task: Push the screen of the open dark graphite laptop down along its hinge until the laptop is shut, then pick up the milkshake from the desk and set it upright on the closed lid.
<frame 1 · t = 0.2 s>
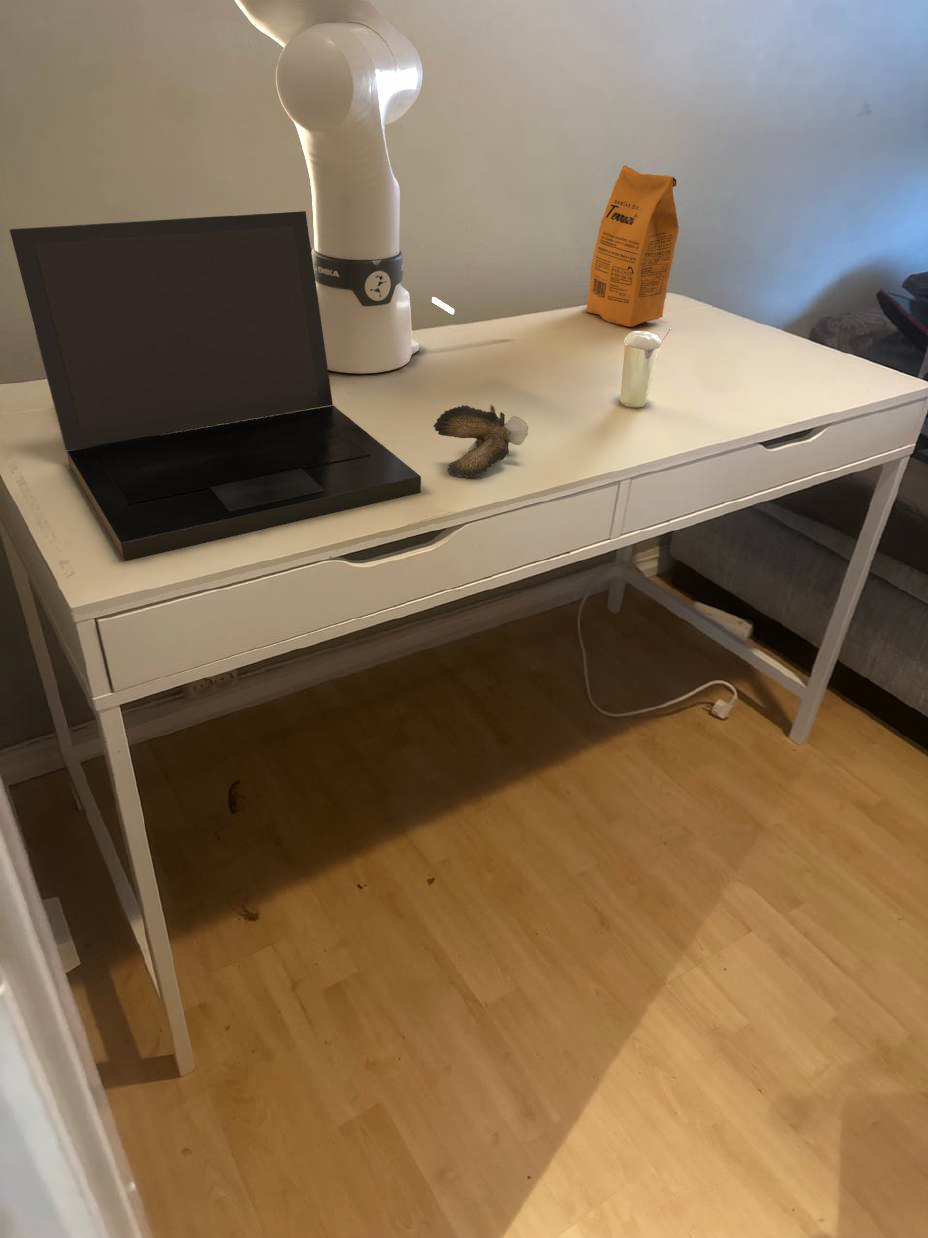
coffee package: (622, 317, 148), on the table
hard drive: (109, 422, 103), on the table
laptop screen: (188, 326, 95), point 12 cm above the table, hinge at 105.0°
laptop: (245, 479, 92), on the table
milkshake: (635, 404, 116), on the table
eagle figurine: (479, 463, 99), on the table
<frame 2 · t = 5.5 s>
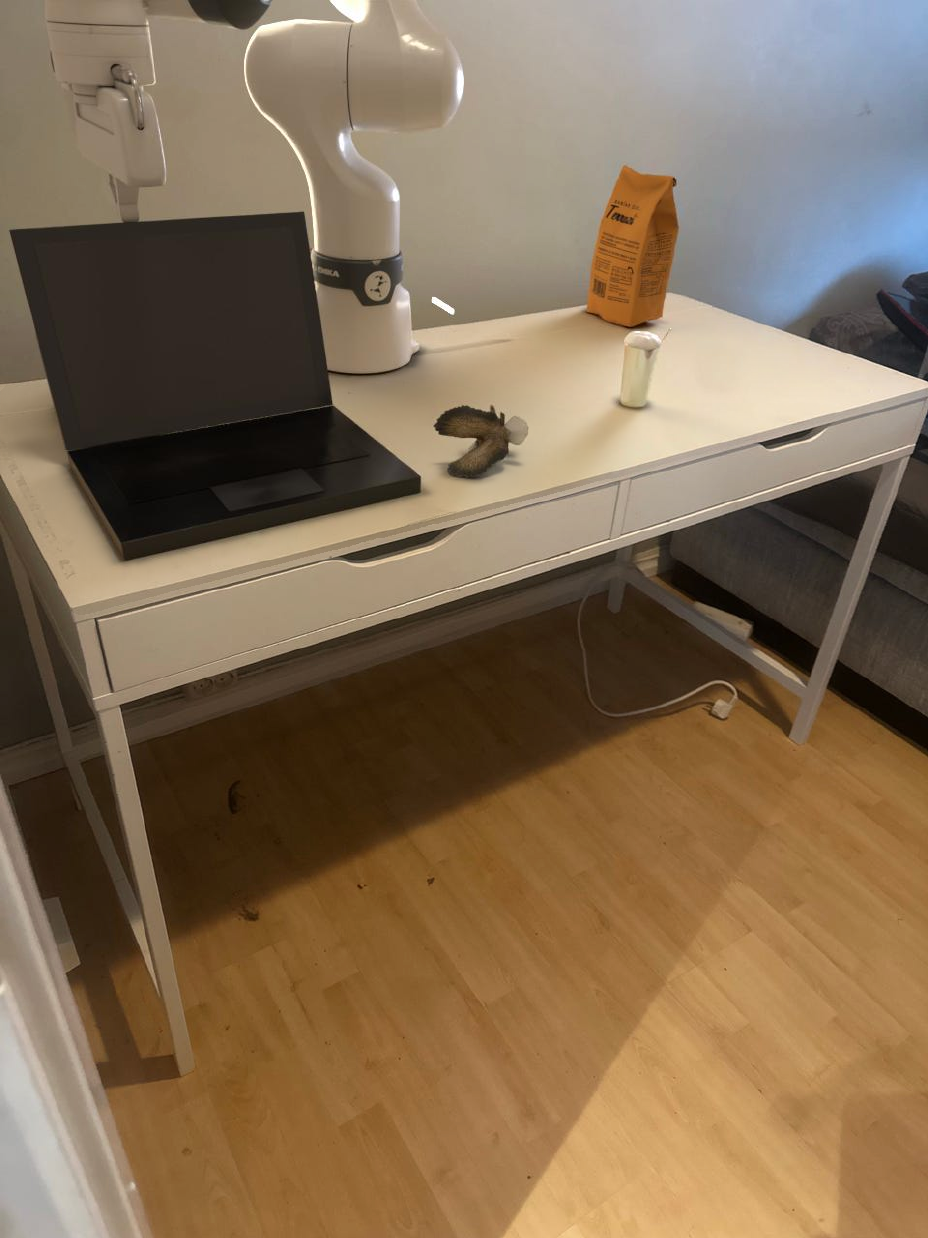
hand: (128, 221, 90), 22 cm above the table, tool pointing down, fingers closed
laptop screen: (188, 327, 95), point 12 cm above the table, hinge at 106.0°, touching gripper
everything else where it was.
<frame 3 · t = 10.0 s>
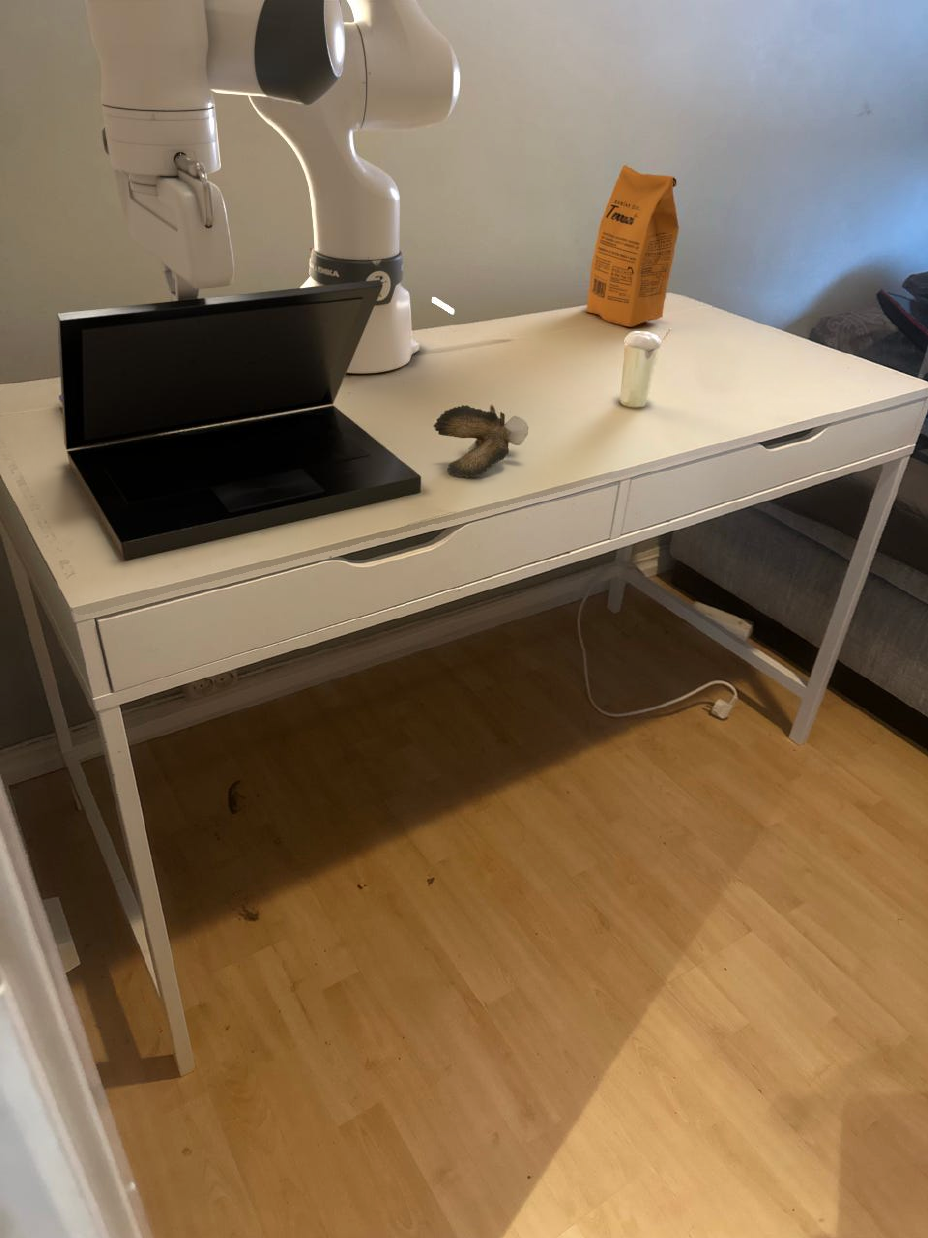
hand: (186, 313, 82), 17 cm above the table, tool pointing down, fingers closed
laptop screen: (219, 367, 89), point 10 cm above the table, hinge at 52.7°, touching gripper
everything else where it was.
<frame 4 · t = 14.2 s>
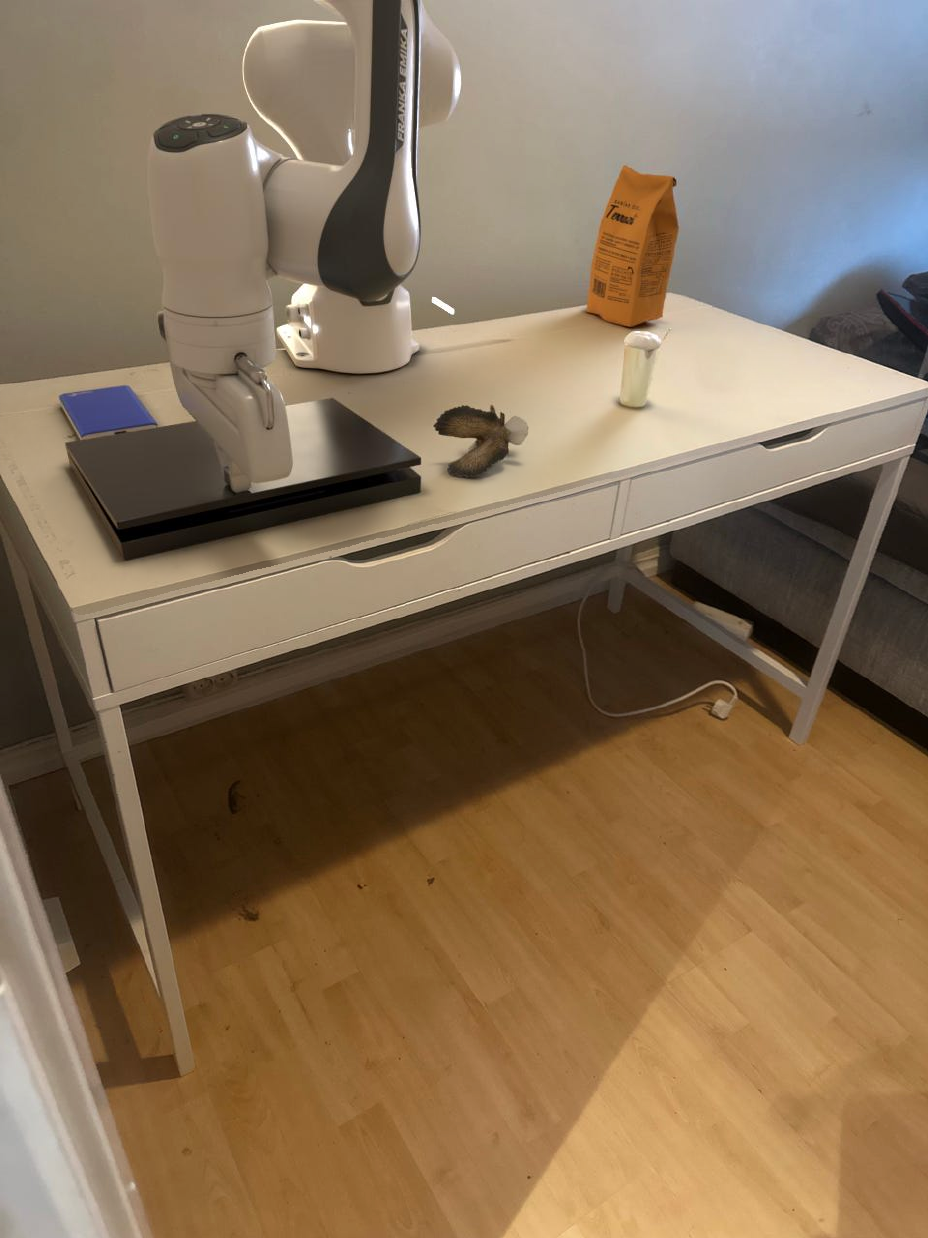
hand: (237, 486, 83), 4 cm above the table, tool pointing down, fingers closed, pressing on laptop screen
laptop screen: (242, 454, 91), point 3 cm above the table, hinge at 3.1°, touching gripper, laptop
everything else where it was.
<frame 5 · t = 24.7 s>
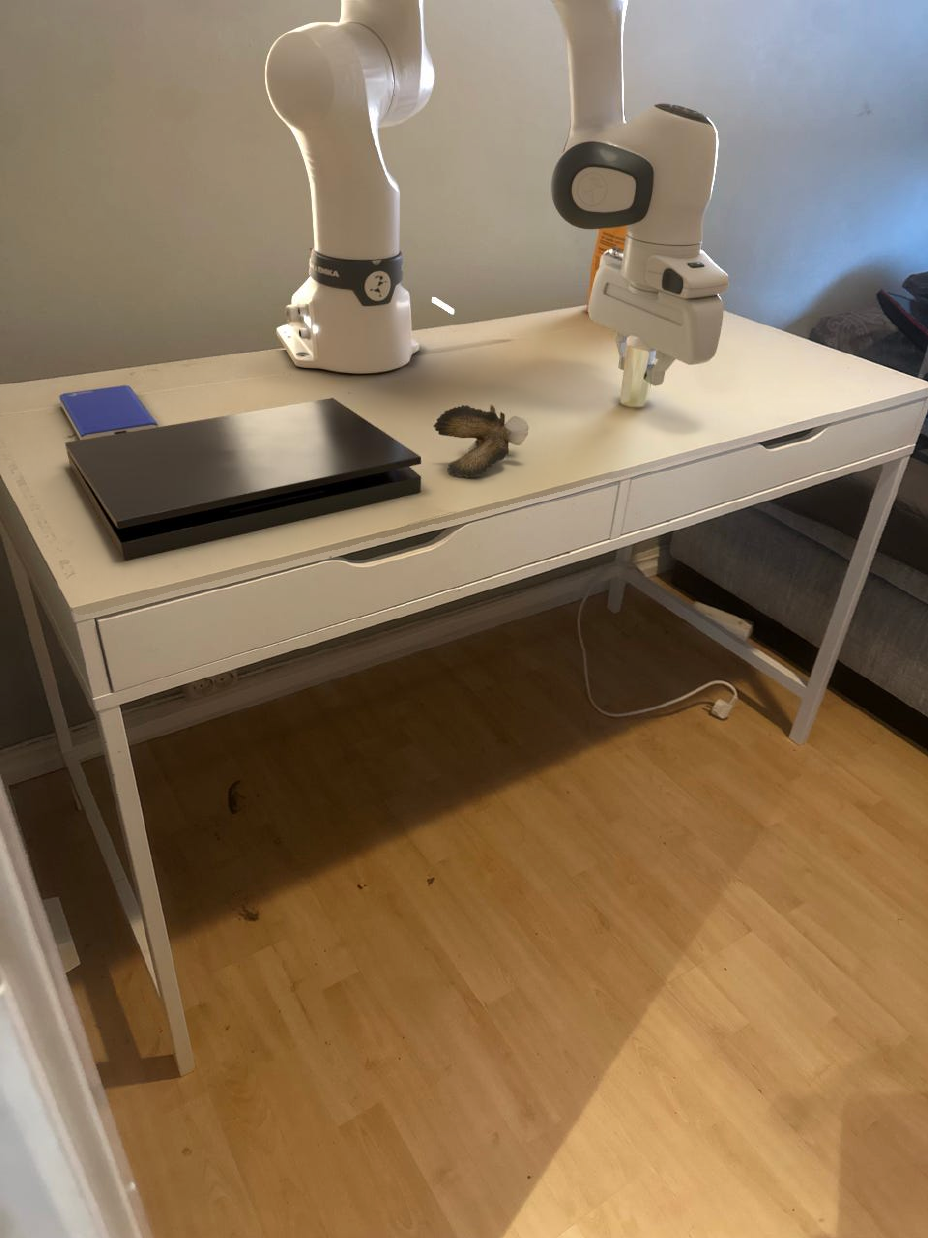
hand: (640, 376, 114), 4 cm above the table, tool pointing down, fingers closed on milkshake, 4 cm apart
laptop screen: (242, 453, 91), point 3 cm above the table, hinge at 3.4°, touching laptop
milkshake: (635, 404, 116), on the table, touching gripper
everything else where it was.
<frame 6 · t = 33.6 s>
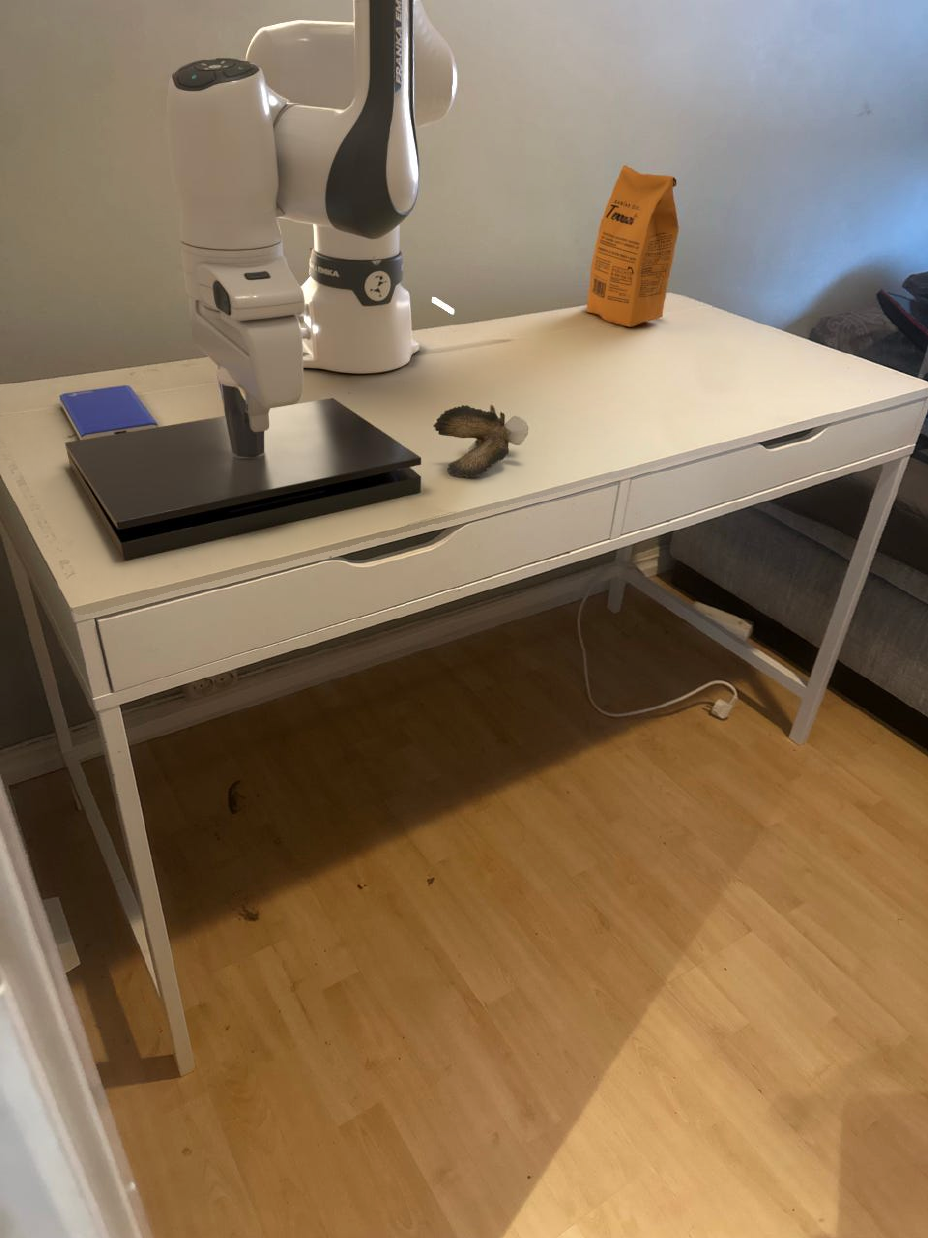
hand: (248, 419, 88), 7 cm above the table, tool pointing down, fingers closed on milkshake, 4 cm apart
laptop screen: (242, 454, 91), point 3 cm above the table, hinge at 3.2°, touching laptop, milkshake
milkshake: (252, 452, 90), point 3 cm above the table, touching gripper, laptop screen
everything else where it was.
when the fingers open (7 cm above the table, at t = 33.8 s): milkshake stays where it is, resting on laptop screen.
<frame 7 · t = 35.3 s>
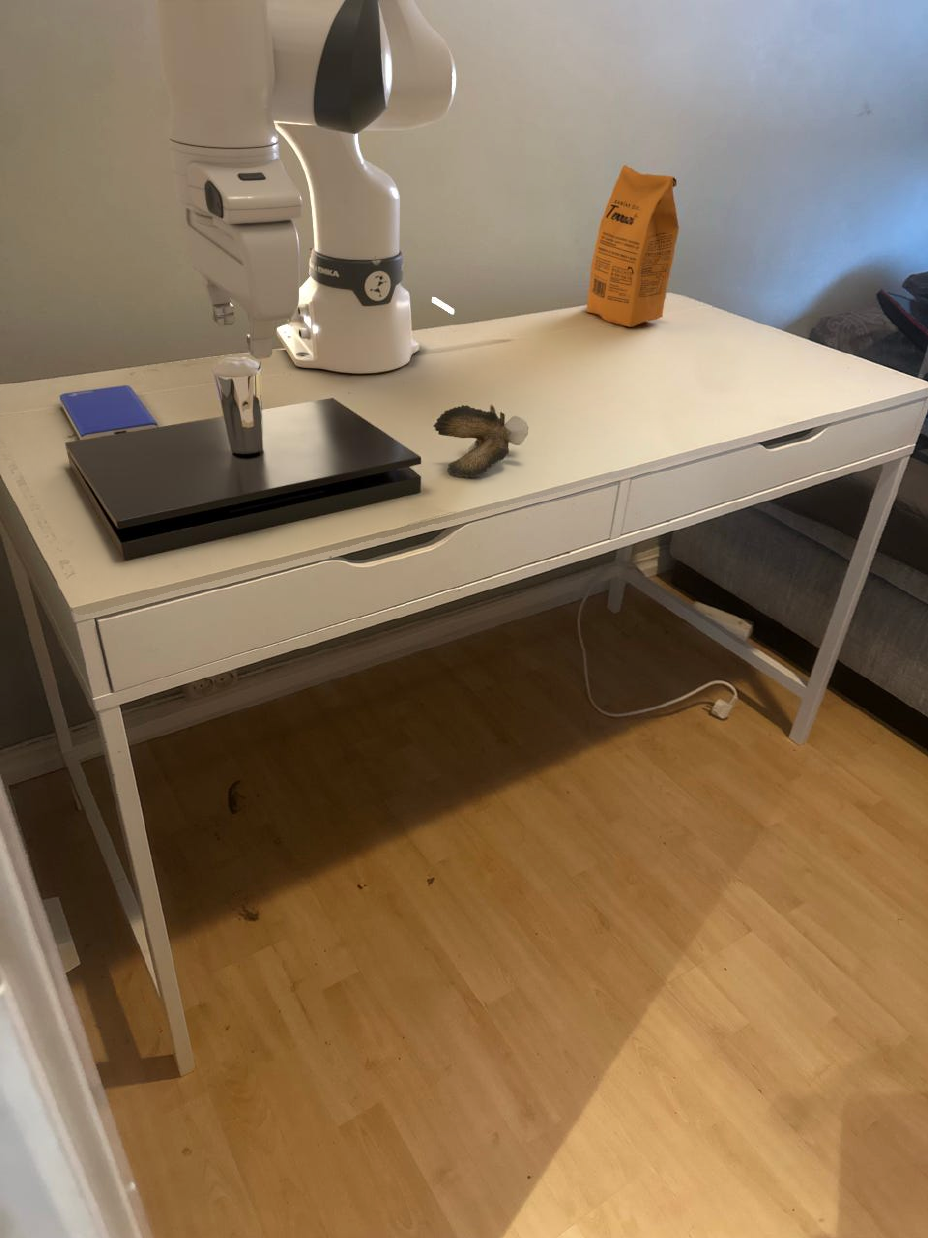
hand: (241, 338, 84), 15 cm above the table, tool pointing down, fingers open, 8 cm apart
milkshake: (251, 451, 90), point 3 cm above the table, touching laptop screen
everything else where it was.
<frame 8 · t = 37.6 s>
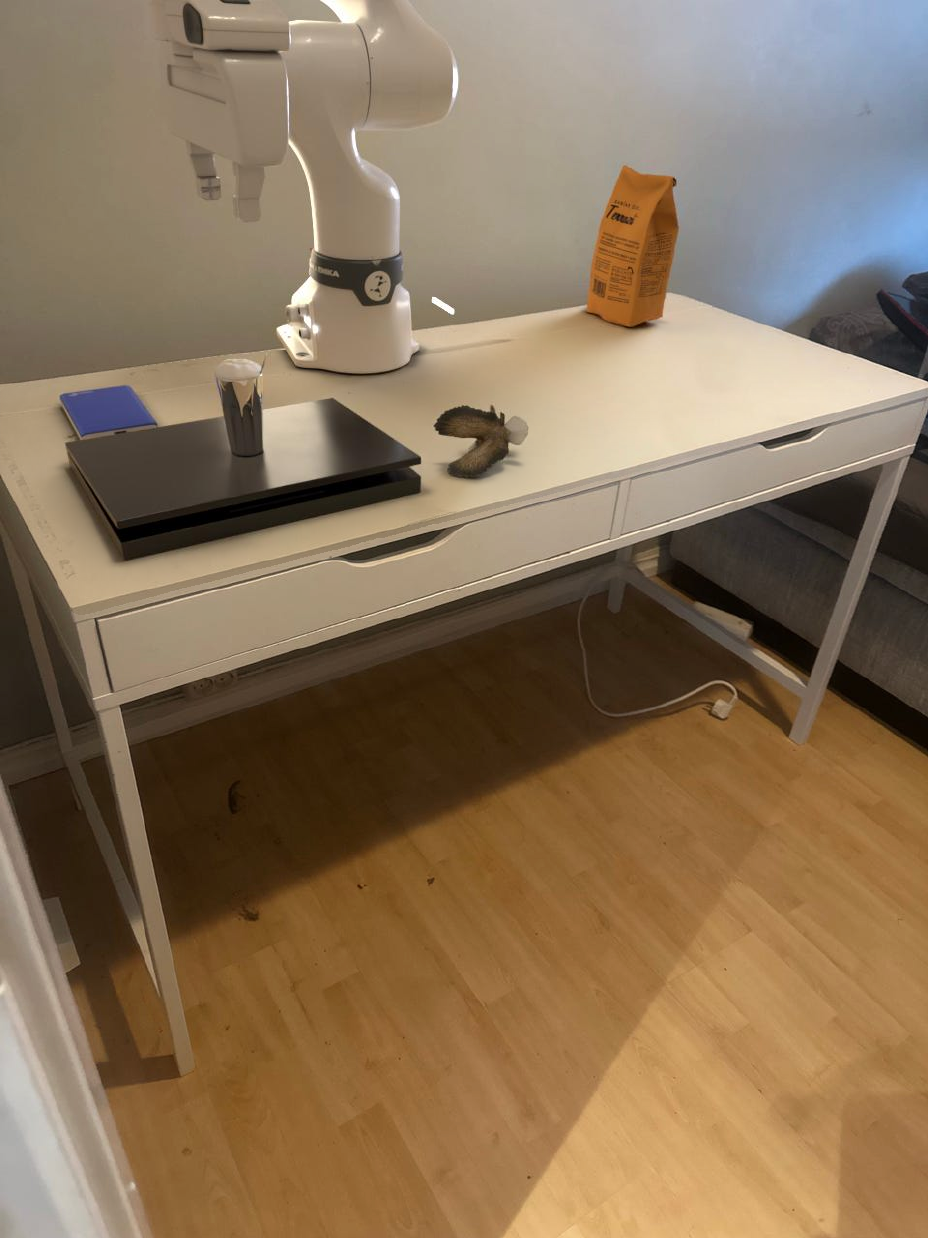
hand: (227, 208, 77), 26 cm above the table, tool pointing down, fingers open, 8 cm apart
nothing on the table moved.
at the end: laptop screen at +3° (first picture: +105°); milkshake inside the target area on the laptop (1.0 cm from its centre), point 3.2 cm above the laptop's base; milkshake tilted 3° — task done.
